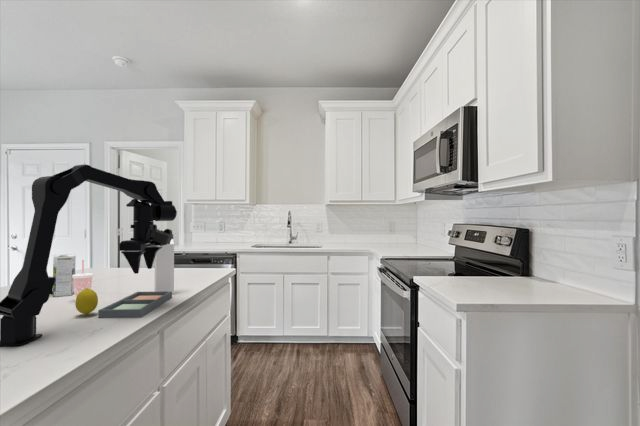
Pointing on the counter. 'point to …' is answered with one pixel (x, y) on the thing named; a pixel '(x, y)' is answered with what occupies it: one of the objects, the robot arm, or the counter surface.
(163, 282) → the milk
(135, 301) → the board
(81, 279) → the beverage cup
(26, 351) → the counter surface
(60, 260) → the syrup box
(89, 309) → the lemon
